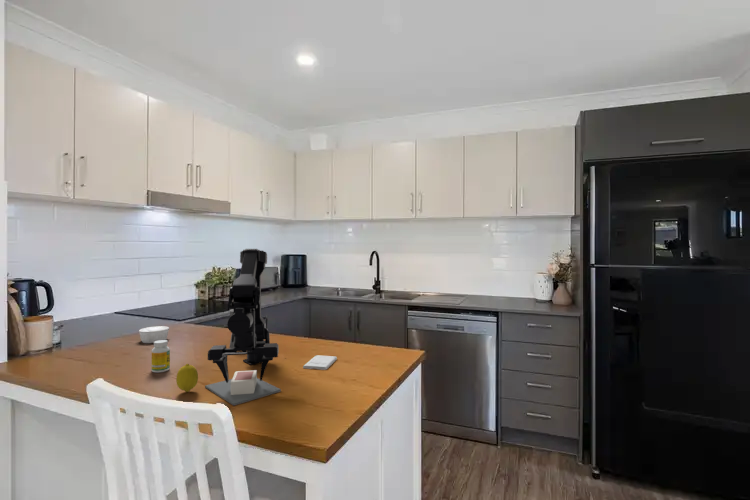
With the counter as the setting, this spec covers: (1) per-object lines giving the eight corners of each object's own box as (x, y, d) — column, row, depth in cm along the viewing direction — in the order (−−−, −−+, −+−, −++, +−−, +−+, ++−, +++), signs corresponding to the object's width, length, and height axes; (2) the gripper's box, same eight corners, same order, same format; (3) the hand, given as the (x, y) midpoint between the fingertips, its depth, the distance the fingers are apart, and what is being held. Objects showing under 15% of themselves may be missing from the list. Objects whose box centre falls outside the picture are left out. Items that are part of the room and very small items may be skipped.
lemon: (181, 388, 112) (181, 361, 112) (200, 388, 113) (201, 360, 113) (172, 396, 107) (172, 367, 107) (193, 395, 107) (193, 366, 107)
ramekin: (132, 343, 163) (132, 330, 163) (152, 337, 174) (152, 325, 174) (156, 344, 162) (156, 332, 161) (174, 338, 173) (174, 326, 173)
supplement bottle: (152, 369, 130) (152, 340, 130) (170, 366, 132) (170, 338, 132) (150, 373, 125) (150, 344, 125) (169, 371, 127) (169, 342, 127)
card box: (230, 394, 106) (230, 381, 106) (235, 383, 115) (235, 371, 115) (253, 393, 108) (253, 380, 108) (256, 382, 116) (256, 369, 116)
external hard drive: (336, 360, 142) (326, 371, 130) (315, 359, 144) (302, 369, 132) (336, 356, 142) (326, 366, 130) (315, 355, 144) (302, 365, 132)
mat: (205, 387, 113) (205, 385, 113) (249, 376, 123) (249, 374, 123) (233, 405, 101) (233, 403, 101) (280, 391, 111) (280, 389, 111)
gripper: (279, 320, 121) (279, 370, 121) (215, 322, 117) (215, 373, 118) (277, 328, 110) (277, 383, 110) (207, 330, 106) (207, 387, 107)
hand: (244, 381), depth 111 cm, fingers open, 9 cm apart
